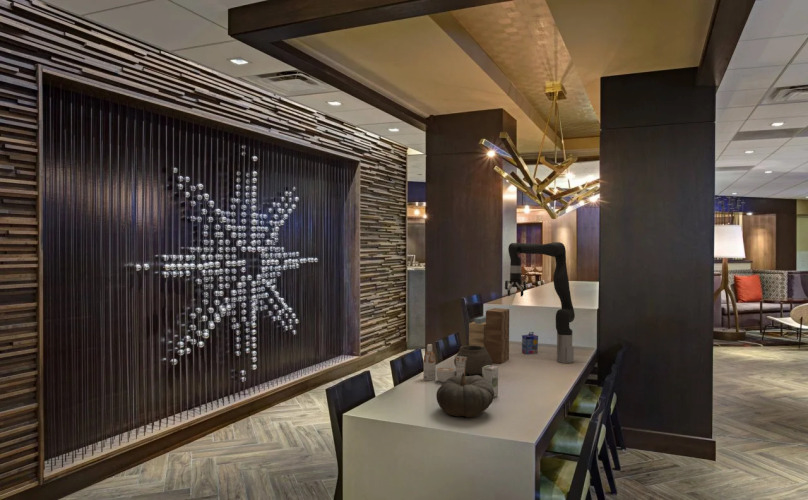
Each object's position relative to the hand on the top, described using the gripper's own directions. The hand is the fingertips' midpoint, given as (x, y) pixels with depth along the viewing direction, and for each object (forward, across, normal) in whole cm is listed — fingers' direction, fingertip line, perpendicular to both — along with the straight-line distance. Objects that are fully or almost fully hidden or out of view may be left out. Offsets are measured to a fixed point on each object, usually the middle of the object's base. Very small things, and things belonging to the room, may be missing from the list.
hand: (515, 296), depth 368 cm
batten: (+16, -16, -17) cm, 28 cm away
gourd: (+38, +20, -141) cm, 148 cm away
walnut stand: (+38, -2, -33) cm, 50 cm away
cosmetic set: (+38, -9, -96) cm, 104 cm away
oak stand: (+38, -16, -23) cm, 47 cm away
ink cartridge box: (+38, +10, +1) cm, 40 cm away
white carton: (+38, +21, -112) cm, 120 cm away
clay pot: (+38, -3, -72) cm, 82 cm away
